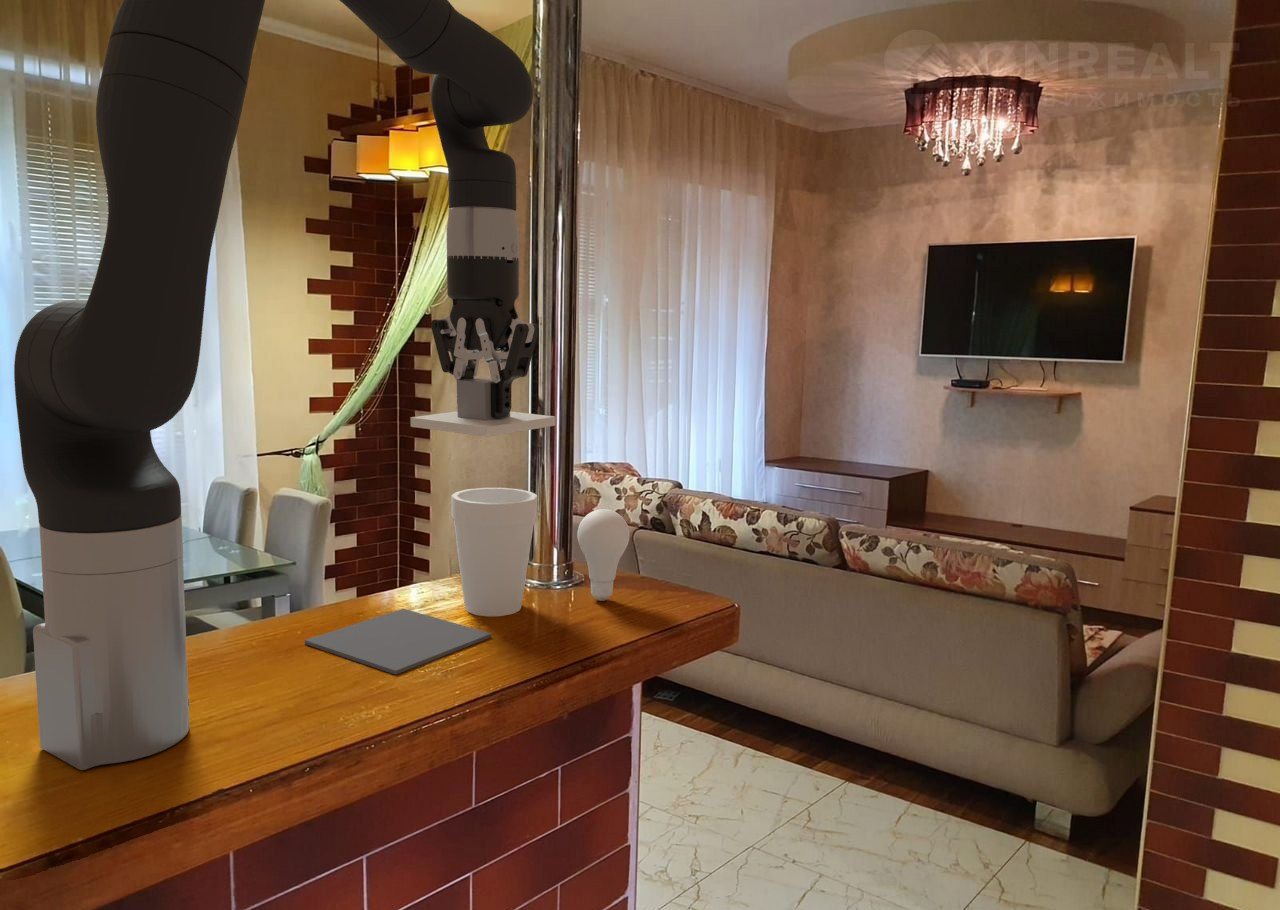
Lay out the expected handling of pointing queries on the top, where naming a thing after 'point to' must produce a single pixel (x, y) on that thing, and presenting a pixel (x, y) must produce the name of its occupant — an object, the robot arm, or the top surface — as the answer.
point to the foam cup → (493, 546)
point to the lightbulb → (603, 548)
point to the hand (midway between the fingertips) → (484, 414)
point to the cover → (479, 414)
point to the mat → (398, 640)
